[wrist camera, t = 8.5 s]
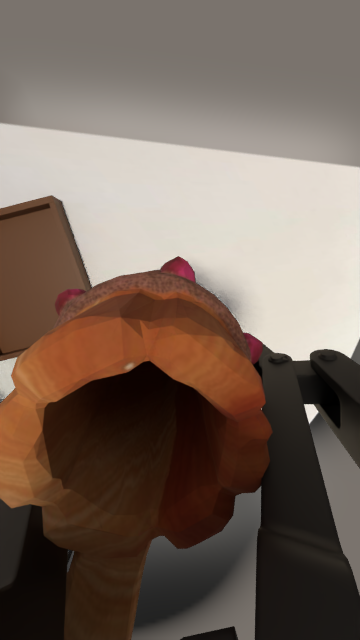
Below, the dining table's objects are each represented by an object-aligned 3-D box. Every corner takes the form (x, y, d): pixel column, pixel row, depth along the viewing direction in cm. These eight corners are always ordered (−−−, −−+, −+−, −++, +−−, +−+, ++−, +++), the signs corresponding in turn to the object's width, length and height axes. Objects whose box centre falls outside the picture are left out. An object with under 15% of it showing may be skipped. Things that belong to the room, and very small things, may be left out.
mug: (128, 250, 16) (-228, 75, 2) (219, 278, 17) (499, 319, 3) (96, 398, 19) (-117, 776, 5) (174, 414, 20) (189, 768, 6)
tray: (107, 332, 33) (103, 336, 31) (3, 357, 34) (-8, 362, 31) (60, 200, 28) (51, 195, 26) (-62, 231, 28) (-80, 228, 26)
